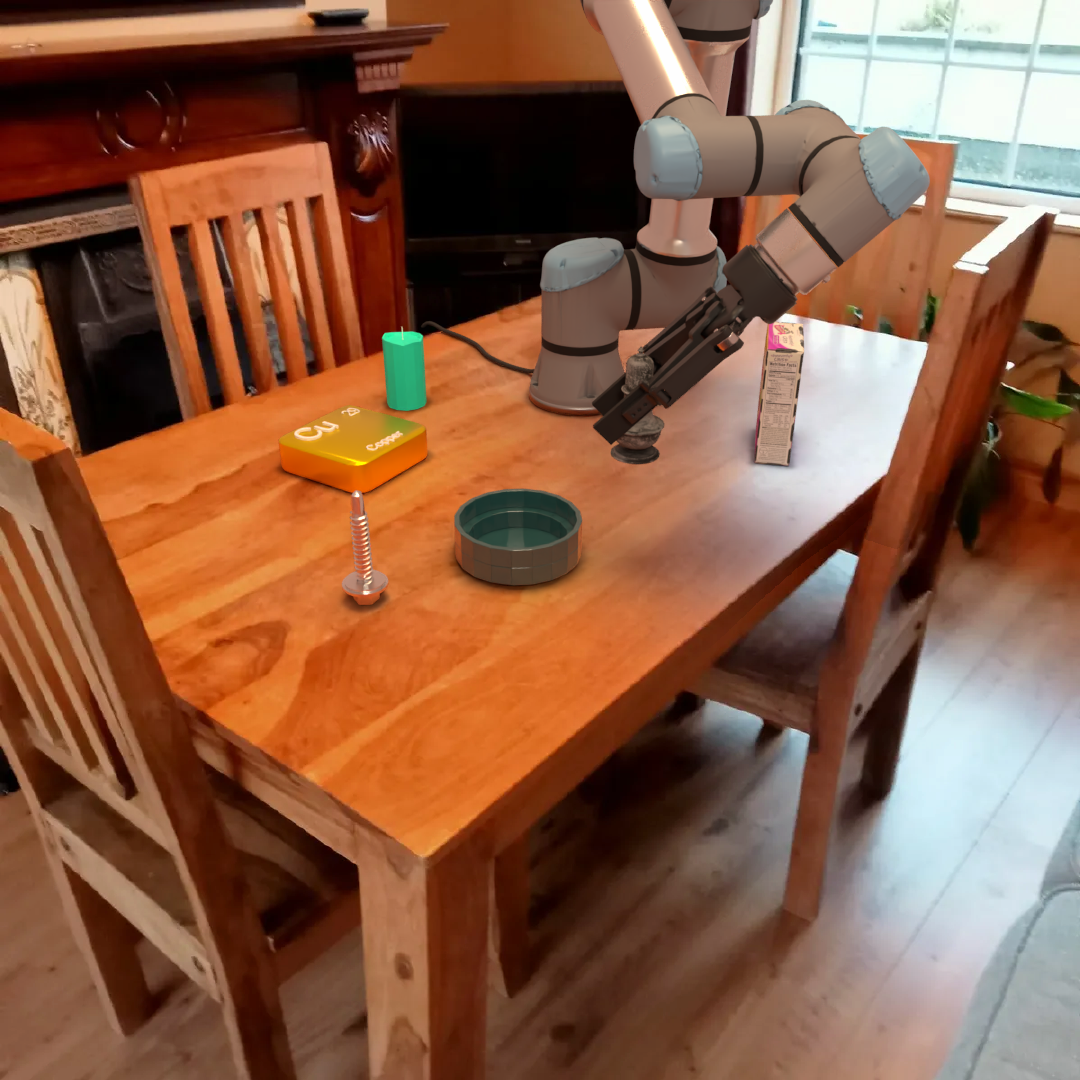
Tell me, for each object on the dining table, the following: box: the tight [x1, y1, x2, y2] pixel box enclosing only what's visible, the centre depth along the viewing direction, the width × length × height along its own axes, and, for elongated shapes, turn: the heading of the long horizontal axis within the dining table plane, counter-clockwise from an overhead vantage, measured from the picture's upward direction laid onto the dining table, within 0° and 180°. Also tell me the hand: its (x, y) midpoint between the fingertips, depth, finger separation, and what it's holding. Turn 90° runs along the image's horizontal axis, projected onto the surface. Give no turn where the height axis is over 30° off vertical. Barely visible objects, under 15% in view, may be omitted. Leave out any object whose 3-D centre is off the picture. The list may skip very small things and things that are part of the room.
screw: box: [341, 490, 389, 606], centre depth 104 cm, size 13×5×5 cm
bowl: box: [453, 488, 583, 586], centre depth 114 cm, size 14×14×5 cm
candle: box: [381, 326, 428, 412], centre depth 151 cm, size 6×6×12 cm
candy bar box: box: [754, 321, 805, 467], centre depth 136 cm, size 11×5×16 cm, turn 168°
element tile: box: [277, 404, 429, 494], centre depth 135 cm, size 15×15×5 cm
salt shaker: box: [610, 346, 666, 465], centre depth 105 cm, size 6×6×12 cm
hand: (601, 422), depth 107 cm, fingers closed on salt shaker, 5 cm apart
